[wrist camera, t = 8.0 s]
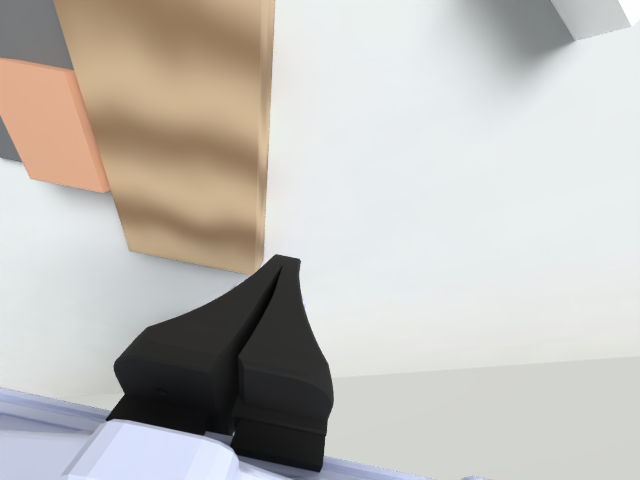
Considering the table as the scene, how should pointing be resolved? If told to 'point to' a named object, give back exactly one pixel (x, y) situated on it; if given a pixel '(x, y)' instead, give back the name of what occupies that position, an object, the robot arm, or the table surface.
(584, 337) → the table surface
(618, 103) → the table surface
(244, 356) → the robot arm
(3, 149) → the mat
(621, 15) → the bracket
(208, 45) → the board
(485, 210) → the table surface
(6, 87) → the block
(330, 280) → the table surface
